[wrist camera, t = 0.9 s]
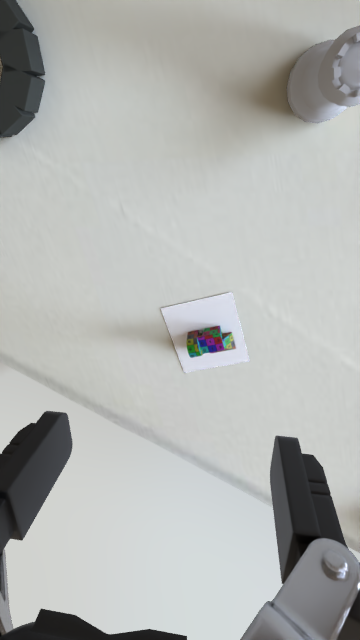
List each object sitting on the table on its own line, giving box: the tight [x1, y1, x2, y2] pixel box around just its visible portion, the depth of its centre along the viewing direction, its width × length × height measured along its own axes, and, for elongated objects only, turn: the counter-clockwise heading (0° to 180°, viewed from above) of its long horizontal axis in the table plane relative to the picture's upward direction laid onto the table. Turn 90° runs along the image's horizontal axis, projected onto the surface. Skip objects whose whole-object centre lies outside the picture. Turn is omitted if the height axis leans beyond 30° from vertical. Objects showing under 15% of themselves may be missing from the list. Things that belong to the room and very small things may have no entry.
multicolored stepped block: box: [160, 292, 250, 373], centre depth 32 cm, size 7×8×2 cm
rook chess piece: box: [287, 26, 360, 123], centre depth 19 cm, size 4×4×8 cm
